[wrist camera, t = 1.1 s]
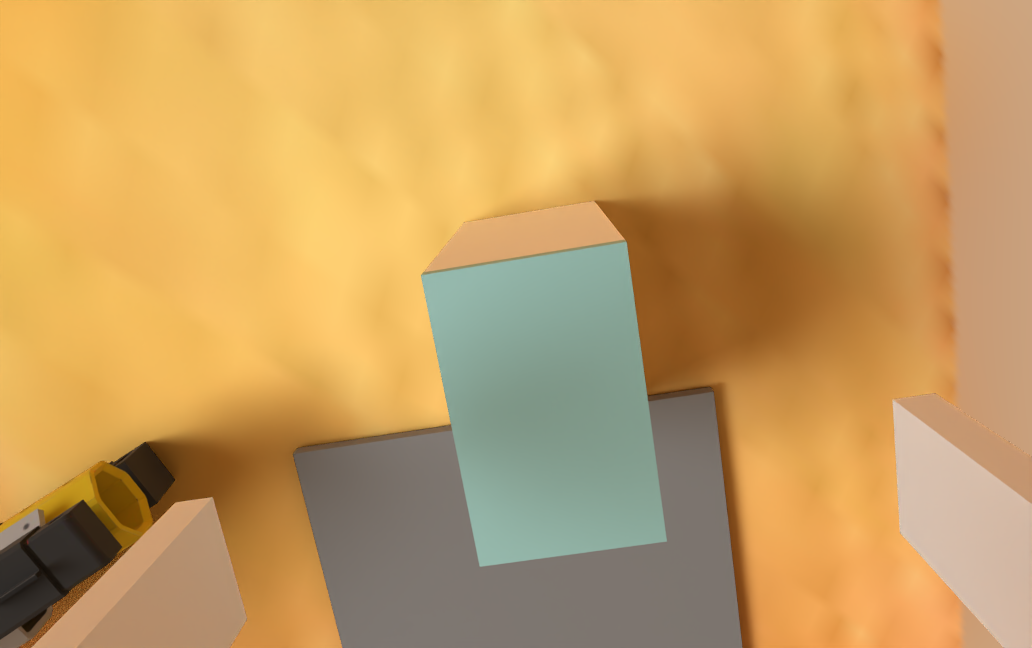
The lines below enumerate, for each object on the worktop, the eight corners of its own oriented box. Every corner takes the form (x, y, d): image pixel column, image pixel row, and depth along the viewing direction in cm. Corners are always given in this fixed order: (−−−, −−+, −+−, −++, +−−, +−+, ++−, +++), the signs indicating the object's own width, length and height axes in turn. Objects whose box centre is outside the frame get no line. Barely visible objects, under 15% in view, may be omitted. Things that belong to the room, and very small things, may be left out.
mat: (297, 448, 32) (292, 454, 31) (710, 386, 30) (713, 391, 30) (369, 730, 35) (366, 739, 34) (744, 684, 34) (747, 694, 33)
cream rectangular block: (464, 222, 29) (421, 275, 19) (594, 200, 29) (626, 241, 18) (499, 417, 31) (480, 566, 20) (622, 399, 31) (666, 541, 20)
